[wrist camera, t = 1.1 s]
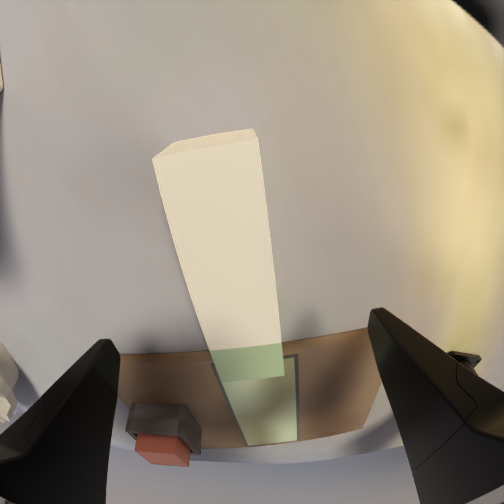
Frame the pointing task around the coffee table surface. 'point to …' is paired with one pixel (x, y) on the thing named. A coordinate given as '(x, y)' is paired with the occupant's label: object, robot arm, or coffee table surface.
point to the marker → (225, 248)
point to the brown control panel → (252, 395)
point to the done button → (163, 449)
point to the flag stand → (7, 384)
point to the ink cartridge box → (0, 82)
